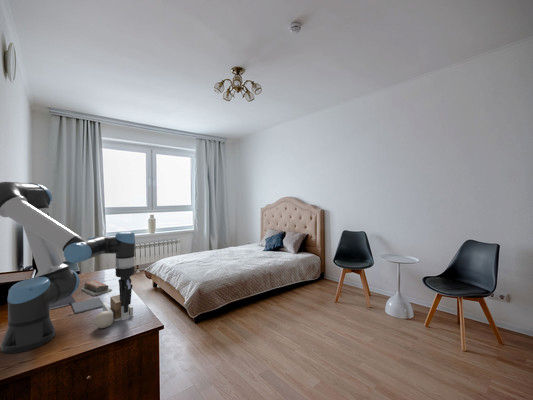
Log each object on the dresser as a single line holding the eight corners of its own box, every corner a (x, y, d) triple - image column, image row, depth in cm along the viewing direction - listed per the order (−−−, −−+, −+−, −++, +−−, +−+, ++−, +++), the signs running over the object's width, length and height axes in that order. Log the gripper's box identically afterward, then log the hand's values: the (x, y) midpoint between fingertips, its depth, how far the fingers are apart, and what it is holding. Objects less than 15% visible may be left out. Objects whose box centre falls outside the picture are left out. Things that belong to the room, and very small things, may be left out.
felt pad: (75, 313, 119) (75, 312, 119) (71, 304, 129) (71, 303, 129) (104, 306, 127) (104, 305, 127) (98, 298, 137) (98, 297, 137)
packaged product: (80, 282, 150) (98, 278, 159) (80, 290, 150) (98, 285, 159) (93, 288, 141) (112, 283, 149) (93, 297, 141) (112, 291, 149)
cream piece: (95, 325, 109) (95, 309, 109) (114, 322, 111) (114, 307, 111) (91, 332, 102) (91, 316, 102) (111, 329, 105) (111, 313, 105)
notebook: (40, 300, 136) (43, 312, 122) (40, 297, 136) (43, 309, 122) (69, 293, 145) (75, 304, 131) (69, 291, 145) (75, 301, 131)
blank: (115, 320, 113) (115, 303, 113) (110, 313, 120) (110, 296, 120) (127, 316, 116) (127, 300, 116) (121, 310, 124) (121, 294, 124)
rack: (110, 322, 111) (110, 313, 111) (102, 310, 123) (102, 302, 123) (133, 316, 117) (133, 307, 117) (123, 305, 129) (123, 297, 129)
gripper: (138, 267, 108) (138, 321, 108) (130, 262, 118) (130, 311, 118) (119, 271, 103) (119, 327, 103) (112, 265, 113) (111, 316, 113)
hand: (125, 318), depth 111 cm, fingers closed
